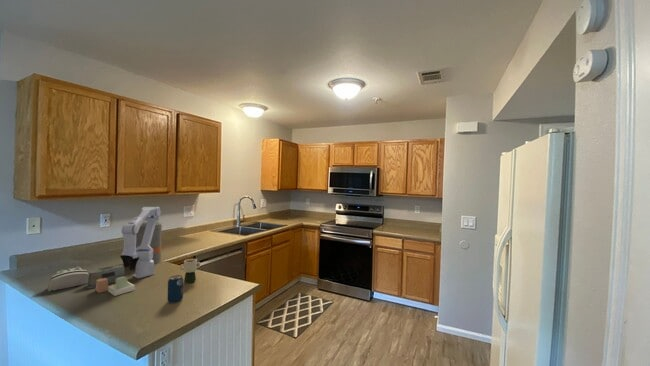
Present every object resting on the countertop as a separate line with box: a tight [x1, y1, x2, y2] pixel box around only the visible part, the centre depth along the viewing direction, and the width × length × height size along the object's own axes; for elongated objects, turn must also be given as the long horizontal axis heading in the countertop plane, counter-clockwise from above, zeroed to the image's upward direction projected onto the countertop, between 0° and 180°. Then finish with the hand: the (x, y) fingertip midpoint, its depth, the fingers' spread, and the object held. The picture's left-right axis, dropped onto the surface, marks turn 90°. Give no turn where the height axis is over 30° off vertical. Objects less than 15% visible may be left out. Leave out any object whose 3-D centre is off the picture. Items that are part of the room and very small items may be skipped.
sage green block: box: [114, 275, 128, 290], centre depth 145 cm, size 4×4×6 cm
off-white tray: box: [107, 280, 136, 297], centre depth 146 cm, size 9×9×3 cm
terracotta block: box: [95, 278, 109, 294], centre depth 145 cm, size 4×4×6 cm
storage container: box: [127, 220, 163, 269], centre depth 194 cm, size 22×22×35 cm
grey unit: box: [84, 264, 126, 289], centre depth 157 cm, size 18×6×8 cm, turn 147°
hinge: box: [47, 269, 89, 292], centre depth 150 cm, size 17×5×10 cm, turn 140°
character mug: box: [179, 258, 201, 284], centre depth 161 cm, size 11×7×13 cm, turn 123°
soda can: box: [167, 274, 184, 304], centre depth 136 cm, size 7×7×12 cm
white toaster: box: [56, 265, 83, 274], centre depth 164 cm, size 14×6×15 cm
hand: (129, 268), depth 154 cm, fingers open, 7 cm apart
